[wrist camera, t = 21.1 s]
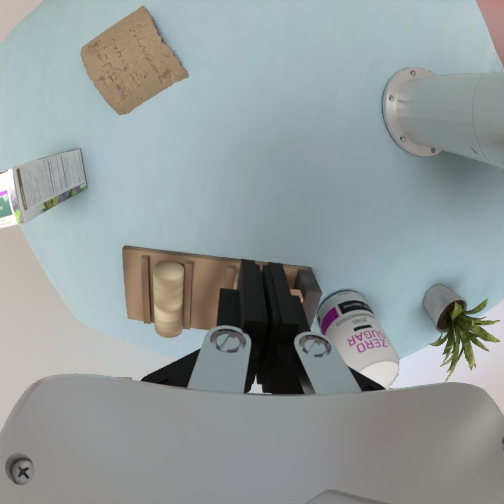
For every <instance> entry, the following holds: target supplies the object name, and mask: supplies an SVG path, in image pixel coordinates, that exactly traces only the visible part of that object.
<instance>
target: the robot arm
mask: <svg viewBox="0 0 504 504" xmlns="http://www.w3.org/2000/svg"><path fill="white" fill-rule="evenodd" d="M410 73H411V74H410ZM388 97H389V98H390V100H389V98H388ZM382 108H383V116H384V119H385V123H386V126H387V128H388V130H389V132H390V134H391V136H392V137H393V139H394V140H395V141H396V142H397V144H398V145H399V146H400V147H402V148H403V149H404V150H406V151H407V152H409V153H411V154H414V155H417V156H422V157H429V156H434V155H437V154H439V153H440V152H442V151H447V152H451V153H454V154H458V155H461V156H465V157H468V158H472V159H475V160H478V161H481V162H484V163H487V164H490V165H493V166H496V167H499V168H502V169H504V73H468V74H453V75H442V76H436V75H434V74H433V73H431V72H430V71H427V70H425V69H422V68H408V69H404V70H401V71H399V72H397V73H396V74H395V75H394V76H393V77H391V79H390V80H389V82H388V83H387V85H386V88H385V90H384V95H383V106H382ZM400 137H401V139H400ZM255 376H256V378H257V384H262V391H263V393H271V394H255V393H248V392H249V391H250V390H251V386H252V384H253V383H254V380H255ZM0 504H504V416H503V414H502V412H501V411H500V409H499V408H498V406H497V405H496V403H495V402H494V401H493V399H492V398H491V397H490V396H489V394H488V393H487V392H486V391H485V390H483V389H482V388H480V387H477V386H474V385H471V384H466V383H456V382H449V383H436V384H428V385H420V386H413V387H405V388H396V389H393V388H389V389H387V390H386V389H385V388H384V387H383V386H382V385H380V384H379V383H377V382H375V381H373V380H371V379H370V378H368V377H366V376H364V375H363V374H361V373H359V372H358V371H356V370H354V369H352V368H351V367H349V366H347V365H346V363H345V361H344V359H343V358H342V356H341V354H340V353H339V351H338V349H337V348H336V346H335V344H334V343H333V342H332V340H331V339H329V338H328V337H327V336H325V335H323V334H320V333H317V332H311V330H310V327H309V324H308V320H307V317H306V314H305V311H304V308H303V305H302V302H301V299H300V297H299V296H298V295H291V292H290V288H289V285H288V281H287V278H286V275H285V271H284V268H283V265H282V264H281V263H272V262H269V263H268V265H263V267H262V272H261V270H260V265H259V264H255V261H254V260H246V259H241V264H240V270H239V277H238V284H237V290H236V289H227V288H220V292H219V301H218V311H217V321H216V327H215V328H212V329H211V330H209V331H208V333H207V334H206V336H205V339H204V341H203V344H202V347H201V348H200V349H198V350H197V351H195V352H193V353H191V354H189V355H187V356H185V357H183V358H181V359H179V360H177V361H175V362H173V363H171V364H169V365H167V366H165V367H163V368H161V369H159V370H157V371H155V372H153V373H151V374H148V375H147V376H145V377H144V378H142V380H141V381H136V380H132V378H127V377H126V378H125V377H124V378H123V377H121V378H120V377H111V376H104V375H95V374H60V375H54V376H49V377H45V378H43V379H40V380H38V381H36V382H35V383H33V384H32V385H31V386H30V387H29V388H28V389H27V390H26V391H25V392H24V393H23V395H22V396H21V398H20V399H19V400H18V402H17V403H16V404H15V406H14V408H13V409H12V411H11V413H10V415H9V416H8V418H7V420H6V422H5V424H4V427H3V428H2V431H1V433H0Z"/></svg>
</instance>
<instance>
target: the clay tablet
mask: <svg viewBox="0 0 504 504" xmlns="http://www.w3.org/2000/svg"><path fill="white" fill-rule="evenodd" d="M144 9H145V8H144V6H141V7H140V8H139V9H138V10H136V11H134V12H133V13H131V14H130V15H128V16H127V17H125V18H123V19H122V20H120V21H119V22H117V23H116V24H115V25H113V26H112V27H110V28H109V29H107V30H106V31H104V32H103V33H101V34H100V35H99V36H97V37H96V38H94V39H93V40H92V41H90V42H89V43H88V44H86V45H85V46H83V47H82V49H81V57H82V61H83V63H84V67H85V68H86V70H87V73H88V75H89V77H90V79H91V80H93V82H94V85H95V86H96V88H97V89H98V90H99V93H100V94H101V95H102V96H103V97H104V99H105V100H106V102H107V103H108V104H109V105H110V106H111V107H112V108H113V109H114V110H116V112H117V114H119V115H122V114H128V113H129V112H131V111H132V110H133V109H135V108H136V107H137V106H139V105H141V104H142V103H143V102H145V101H146V100H148V99H150V98H151V97H153V96H155V95H156V94H158V93H159V92H161V91H163V90H164V89H166V88H168V87H170V86H171V85H172V84H174V83H175V82H178V81H181V80H183V79H184V78H188V74H187V72H186V71H185V70H184V69H183V67H182V66H181V65H180V62H179V61H178V58H177V57H174V55H173V52H172V51H171V50H170V48H169V47H168V46H166V45H165V44H164V43H162V41H161V37H160V36H159V35H158V33H157V29H156V28H155V27H154V26H153V23H154V22H153V21H151V19H152V18H151V17H150V15H149V14H148V12H146V10H147V9H145V10H144Z"/></svg>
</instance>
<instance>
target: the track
mask: <svg viewBox="0 0 504 504" xmlns="http://www.w3.org/2000/svg"><path fill="white" fill-rule="evenodd" d="M122 252H123V270H124V284H125V296H126V306H127V315H128V319H134V320H140V321H144V323H147V324H151V322H152V323H155V317H154V291H153V267H154V266H155V265H156V264H157V263H160V262H164V261H171V262H176V263H179V264H181V265H182V266H183V267H184V282H183V313H182V327H183V329H190V328H196V329H204V330H211V329H212V328H215V327H216V321H217V311H218V301H219V292H220V288H227V289H233V287H234V280H235V274H236V273H237V272H238V271H239V270H240V264H241V259H232V258H223V257H215V256H206V255H198V254H189V253H181V252H172V251H164V250H156V249H148V248H139V247H131V246H124V247H123V249H122ZM255 264H259V265H260V270H261V272H262V267H263V265H268V263H267V262H258V261H255ZM282 265H283V268H284V271H285V275H286V278H287V281H288V285H289V288H290V289H295V290H300V291H301V294H302V297H303V302H302V305H303V308H304V311H305V314H306V317H307V320H308V324H309V327H310V328H311V325H312V322H313V319H314V316H315V313H316V310H317V307H318V304H319V301H320V298H321V295H322V291H321V289H320V287H319V285H318V282H317V280H316V278H315V276H314V274H313V271H312V269H311V267H303V266H294V265H285V264H282Z"/></svg>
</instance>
